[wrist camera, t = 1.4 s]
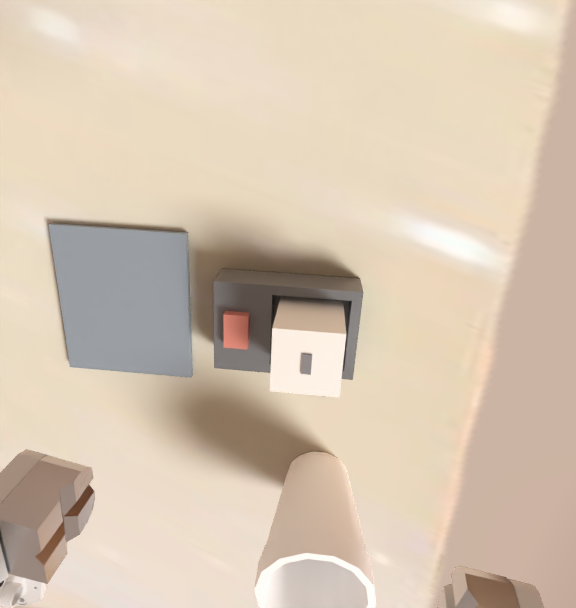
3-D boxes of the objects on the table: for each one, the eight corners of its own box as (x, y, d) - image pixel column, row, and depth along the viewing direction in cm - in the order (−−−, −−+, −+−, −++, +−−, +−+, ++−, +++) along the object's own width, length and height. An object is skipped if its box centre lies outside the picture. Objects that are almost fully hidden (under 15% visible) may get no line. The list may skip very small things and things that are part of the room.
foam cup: (318, 522, 49) (315, 652, 37) (255, 475, 47) (230, 593, 35) (381, 476, 46) (401, 600, 34) (316, 423, 44) (313, 534, 32)
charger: (337, 352, 39) (339, 398, 33) (278, 348, 40) (269, 392, 33) (342, 298, 37) (346, 334, 31) (281, 293, 38) (272, 329, 31)
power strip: (350, 359, 41) (353, 384, 37) (222, 349, 42) (212, 372, 38) (360, 278, 38) (364, 295, 34) (222, 268, 39) (210, 284, 35)
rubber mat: (192, 374, 43) (191, 377, 42) (73, 363, 44) (70, 366, 43) (187, 232, 38) (185, 233, 37) (52, 223, 38) (48, 224, 38)
